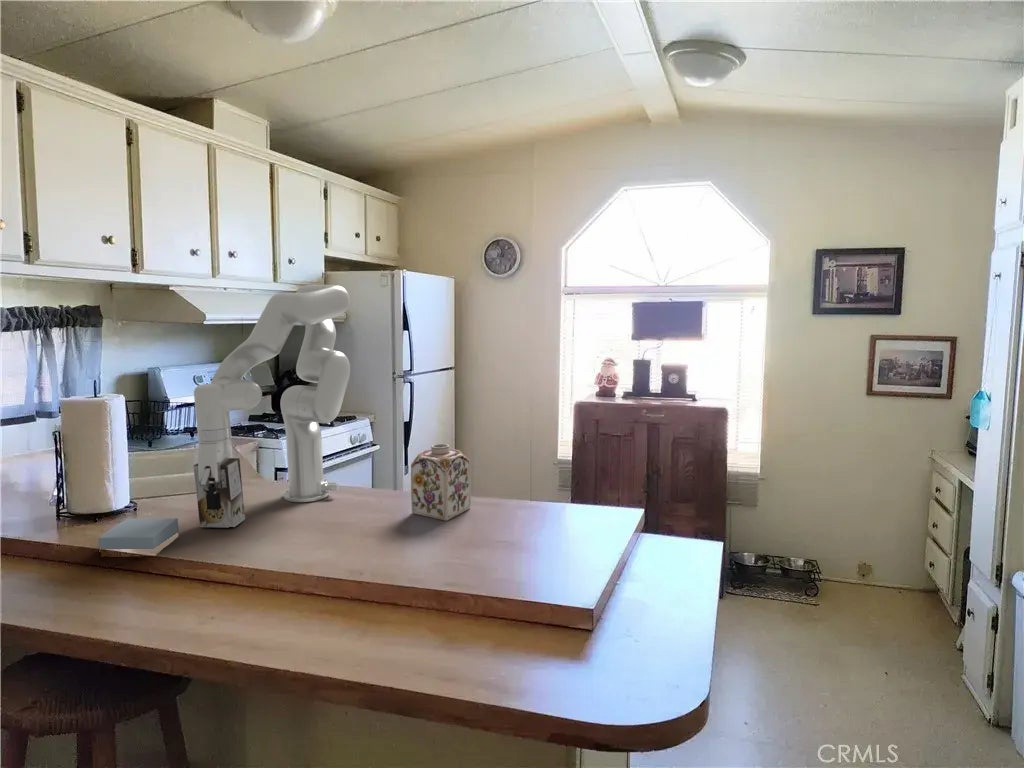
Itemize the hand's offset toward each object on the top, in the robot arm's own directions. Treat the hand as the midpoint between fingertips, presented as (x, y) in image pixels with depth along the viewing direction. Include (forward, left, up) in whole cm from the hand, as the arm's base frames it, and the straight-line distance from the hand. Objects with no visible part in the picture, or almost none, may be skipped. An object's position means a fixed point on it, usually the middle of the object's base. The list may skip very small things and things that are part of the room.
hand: (220, 503), depth 172 cm
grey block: (+13, +14, -6) cm, 20 cm away
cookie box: (0, 0, -5) cm, 5 cm away
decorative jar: (-54, -12, -6) cm, 55 cm away
